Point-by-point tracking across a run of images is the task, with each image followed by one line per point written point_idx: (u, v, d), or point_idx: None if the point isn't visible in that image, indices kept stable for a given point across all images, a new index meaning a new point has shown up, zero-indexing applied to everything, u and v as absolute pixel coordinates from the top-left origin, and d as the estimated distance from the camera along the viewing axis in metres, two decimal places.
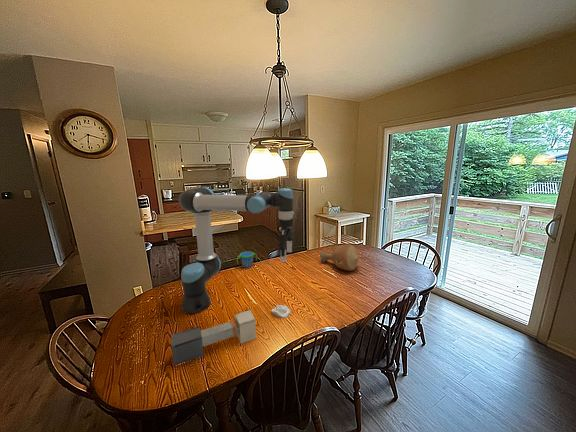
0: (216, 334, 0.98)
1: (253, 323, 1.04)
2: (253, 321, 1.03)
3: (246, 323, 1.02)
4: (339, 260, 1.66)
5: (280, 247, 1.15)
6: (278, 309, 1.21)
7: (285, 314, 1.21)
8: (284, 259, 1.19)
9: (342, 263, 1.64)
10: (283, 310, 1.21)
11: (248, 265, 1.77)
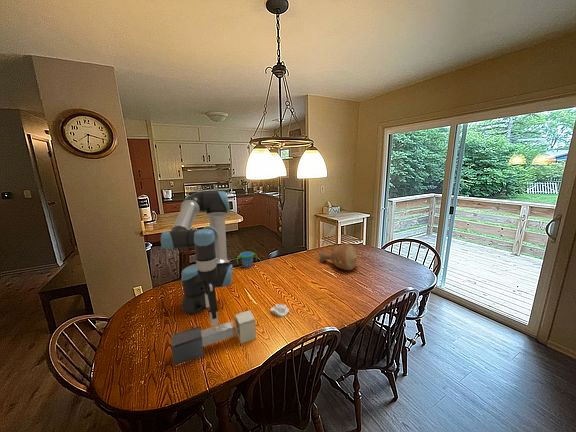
0: (216, 334, 0.98)
1: (253, 323, 1.04)
2: (253, 321, 1.03)
3: (246, 323, 1.02)
4: (338, 260, 1.66)
5: (212, 309, 0.87)
6: (277, 308, 1.22)
7: (284, 313, 1.22)
8: (216, 321, 0.92)
9: (341, 263, 1.64)
10: (282, 309, 1.22)
11: (248, 265, 1.77)
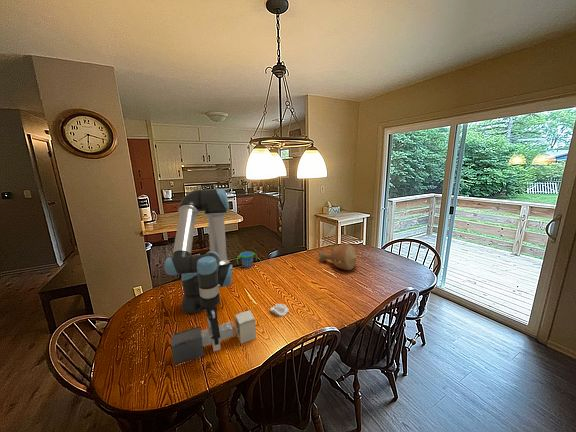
0: None
1: (253, 323, 1.04)
2: (253, 321, 1.03)
3: (246, 323, 1.02)
4: (338, 259, 1.66)
5: (214, 336, 0.90)
6: (276, 308, 1.23)
7: (283, 313, 1.22)
8: (218, 346, 0.94)
9: (341, 262, 1.65)
10: (281, 309, 1.22)
11: (248, 265, 1.77)
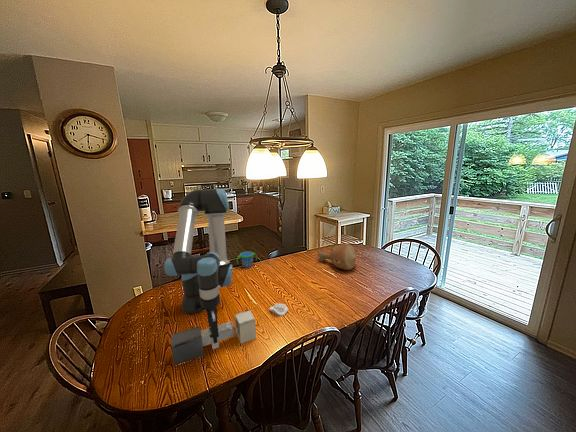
0: None
1: (253, 323, 1.04)
2: (253, 321, 1.03)
3: (246, 323, 1.02)
4: (337, 259, 1.67)
5: (213, 335, 0.94)
6: (276, 307, 1.23)
7: (283, 312, 1.23)
8: (217, 345, 0.99)
9: (340, 262, 1.65)
10: (281, 308, 1.23)
11: (248, 265, 1.77)
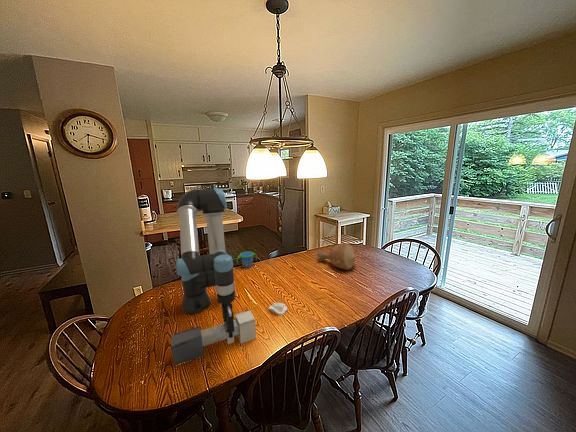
0: None
1: (253, 323, 1.04)
2: (253, 321, 1.03)
3: (246, 323, 1.02)
4: (336, 259, 1.67)
5: (229, 330, 0.97)
6: (275, 306, 1.24)
7: (282, 311, 1.23)
8: (232, 339, 1.01)
9: (339, 262, 1.65)
10: (280, 307, 1.23)
11: (248, 265, 1.77)
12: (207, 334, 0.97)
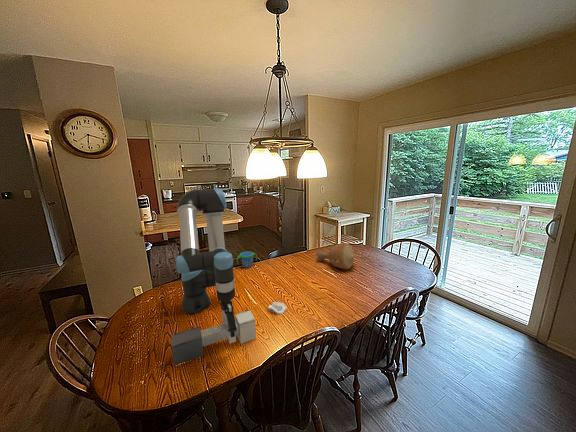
0: None
1: (253, 323, 1.04)
2: (253, 321, 1.03)
3: (246, 323, 1.02)
4: (335, 259, 1.68)
5: (231, 328, 0.93)
6: (274, 306, 1.24)
7: (281, 311, 1.24)
8: (234, 339, 0.97)
9: (338, 262, 1.66)
10: (279, 307, 1.24)
11: (248, 265, 1.77)
12: (207, 334, 0.97)
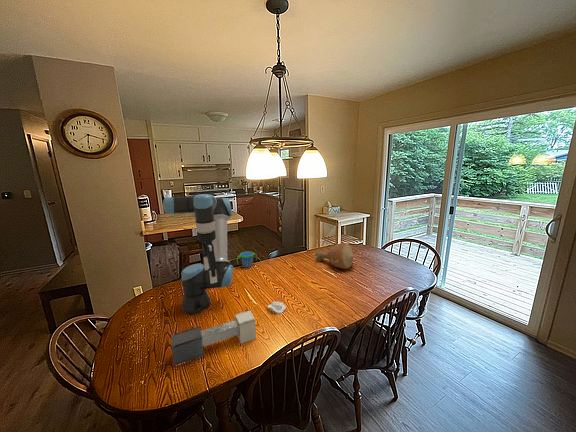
0: (231, 329, 1.01)
1: (253, 323, 1.04)
2: (253, 321, 1.03)
3: (246, 323, 1.02)
4: (335, 258, 1.68)
5: (212, 267, 0.95)
6: (274, 305, 1.25)
7: (280, 310, 1.24)
8: (215, 279, 0.99)
9: (338, 261, 1.66)
10: (278, 306, 1.24)
11: (248, 265, 1.77)
12: (207, 334, 0.97)
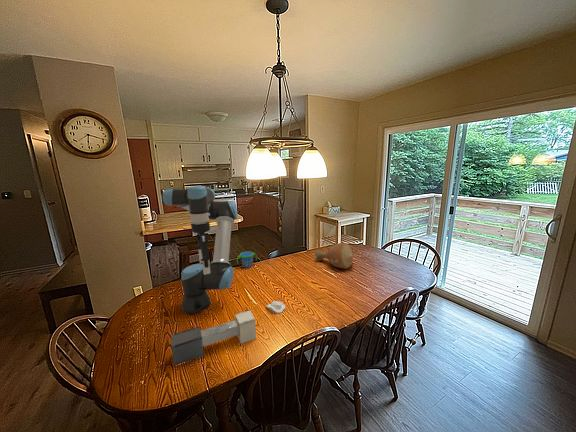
0: (231, 329, 1.01)
1: (253, 323, 1.04)
2: (253, 321, 1.03)
3: (246, 323, 1.02)
4: (334, 258, 1.69)
5: (204, 257, 0.95)
6: (273, 305, 1.25)
7: (280, 310, 1.25)
8: (208, 270, 0.99)
9: (337, 261, 1.67)
10: (278, 306, 1.25)
11: (248, 265, 1.77)
12: (207, 334, 0.97)
